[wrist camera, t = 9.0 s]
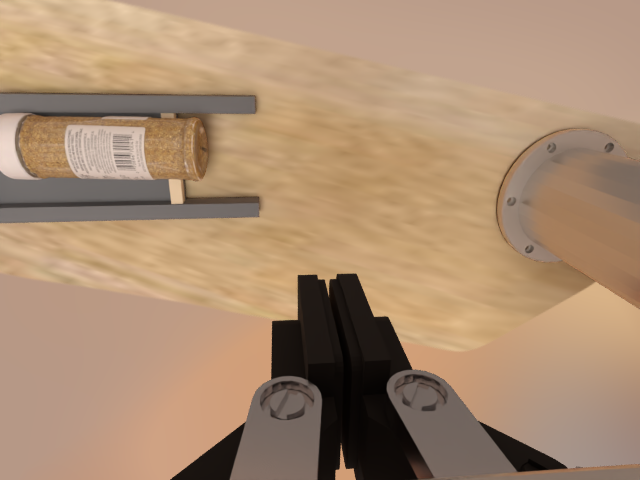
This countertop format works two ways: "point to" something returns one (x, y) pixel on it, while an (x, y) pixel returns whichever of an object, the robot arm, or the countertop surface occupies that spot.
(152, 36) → the countertop surface
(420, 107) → the countertop surface
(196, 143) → the sprinkles bottle
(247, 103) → the tray
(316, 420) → the robot arm
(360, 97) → the countertop surface
